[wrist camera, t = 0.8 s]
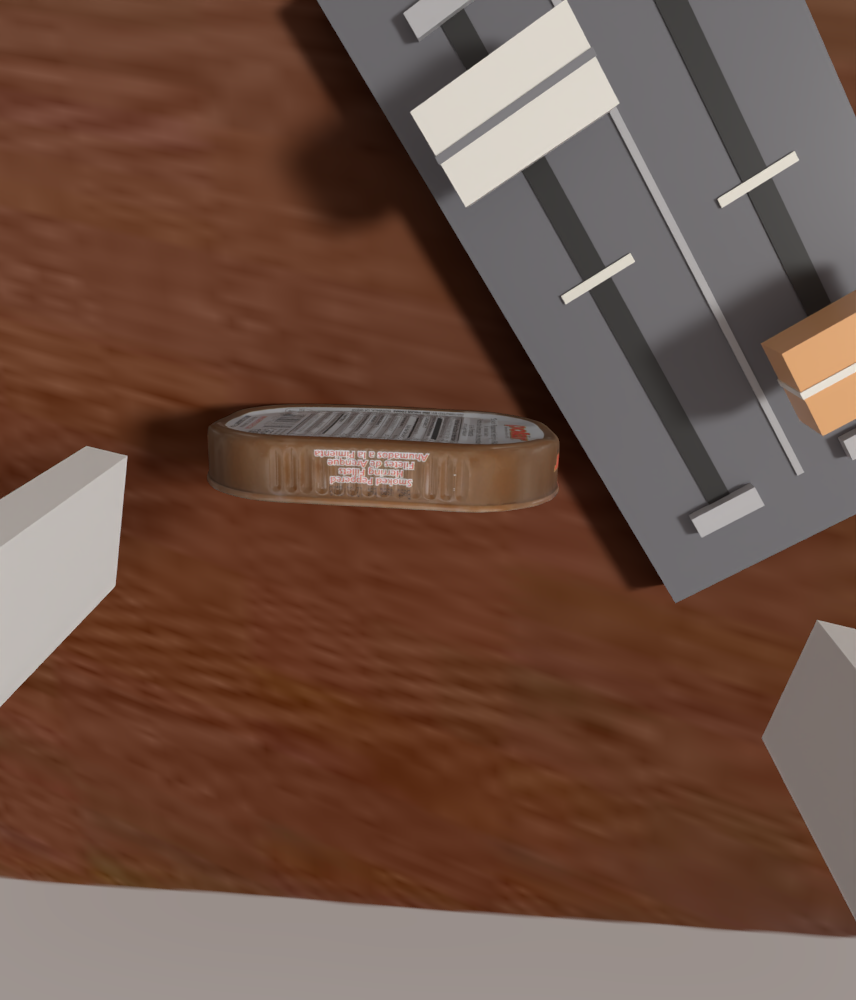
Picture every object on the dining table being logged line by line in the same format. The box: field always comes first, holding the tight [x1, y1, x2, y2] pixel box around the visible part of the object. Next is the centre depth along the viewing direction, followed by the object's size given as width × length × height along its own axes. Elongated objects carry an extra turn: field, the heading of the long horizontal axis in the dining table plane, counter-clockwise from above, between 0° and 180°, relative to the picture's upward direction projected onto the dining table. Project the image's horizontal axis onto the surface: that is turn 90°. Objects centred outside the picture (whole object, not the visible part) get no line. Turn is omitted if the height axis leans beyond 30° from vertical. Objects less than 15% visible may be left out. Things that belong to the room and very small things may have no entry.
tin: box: [207, 404, 559, 512], centre depth 34 cm, size 15×3×8 cm, turn 89°
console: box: [317, 0, 856, 603], centre depth 33 cm, size 30×15×3 cm, turn 33°
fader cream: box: [410, 0, 619, 207], centre depth 29 cm, size 4×6×4 cm, turn 123°
